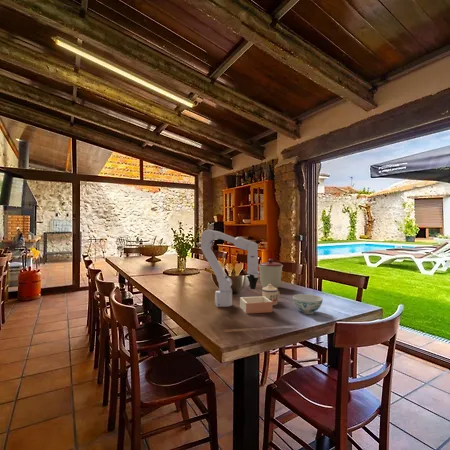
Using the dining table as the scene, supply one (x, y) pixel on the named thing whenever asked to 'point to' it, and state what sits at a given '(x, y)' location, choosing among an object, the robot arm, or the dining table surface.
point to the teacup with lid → (271, 293)
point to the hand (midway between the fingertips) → (252, 288)
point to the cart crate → (252, 301)
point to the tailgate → (259, 307)
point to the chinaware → (307, 303)
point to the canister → (270, 273)
